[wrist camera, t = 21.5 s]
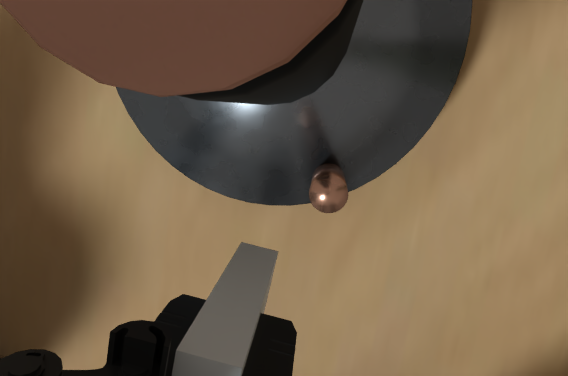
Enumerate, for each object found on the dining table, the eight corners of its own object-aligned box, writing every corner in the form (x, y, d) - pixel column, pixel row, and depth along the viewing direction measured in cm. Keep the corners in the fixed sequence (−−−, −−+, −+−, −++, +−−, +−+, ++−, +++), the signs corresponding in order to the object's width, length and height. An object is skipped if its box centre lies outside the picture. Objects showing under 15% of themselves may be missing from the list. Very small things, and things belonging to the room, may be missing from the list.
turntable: (192, 237, 32) (155, 272, 25) (61, -71, 27) (-27, -130, 21) (501, 137, 27) (559, 147, 20) (400, -256, 23) (431, -412, 16)
